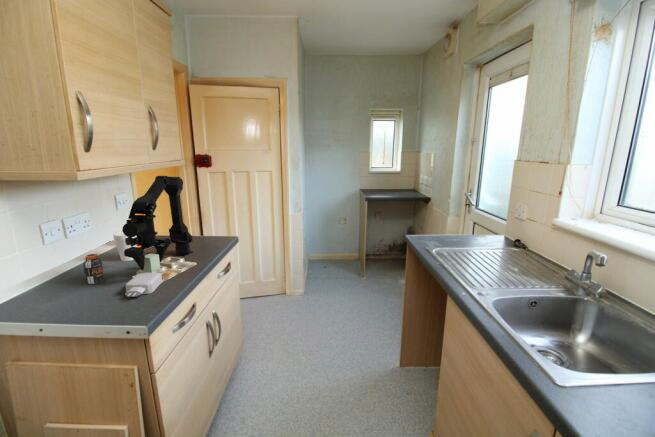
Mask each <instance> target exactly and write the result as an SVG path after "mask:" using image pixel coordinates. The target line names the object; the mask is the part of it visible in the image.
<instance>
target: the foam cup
mask: <svg viewBox="0 0 655 437" xmlns="http://www.w3.org/2000/svg"><path fill="white" fill-rule="evenodd" d="M112 236H113V240H114V241H115V245H116V246H115V247H116V248H117V251H118V254H119V258H120V260H121V261H122V262H127V261H133V260H134V259H133V258H130V257H127V256H124V251H125V249H128V248H131V245H128V246H127V245H126V243H125V238H128V237H127V236H126V235H125V234H124V233H123V231H117V232H115V233H113V234H112ZM135 237H137V236H135ZM135 237H132V238H135ZM132 247H137V245H134V246H132Z"/></svg>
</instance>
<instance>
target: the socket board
mask: <svg viewBox="0 0 655 437" xmlns="http://www.w3.org/2000/svg"><path fill="white" fill-rule="evenodd" d="M196 265H197V262H193V261H185V258H184V257H176V256H169V257H166V258H163V259H162V261H161V262H160V269H158V270H156V271H154V272H152V273H160V274H161V276H162V283H164V282H166V281H168V280H169V279H172V278H173V277H175V276H178V275H179V274H181V273H182V272H185V271H187V270H189V269H191V268H193V267H194V266H196ZM140 273H151V272H144V271H143V270H141V269H139V270H136V274H134V275H132V276H131V279H133V278H134V277H135V276H136V275H138V274H140Z"/></svg>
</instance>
